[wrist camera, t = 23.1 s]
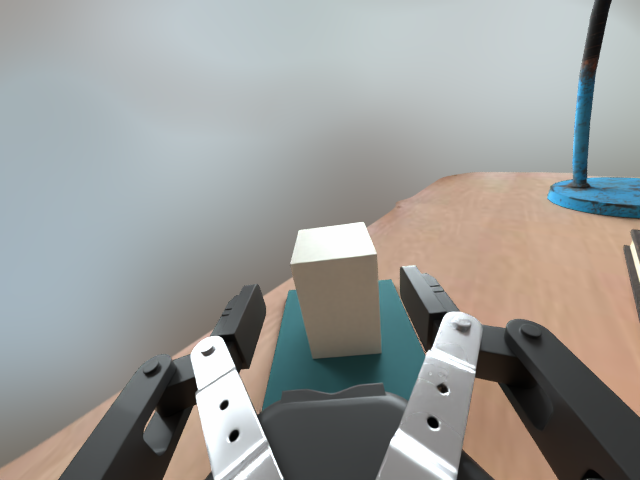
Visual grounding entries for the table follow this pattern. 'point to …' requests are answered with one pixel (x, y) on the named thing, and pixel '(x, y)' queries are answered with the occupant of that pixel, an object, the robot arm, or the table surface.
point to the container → (338, 290)
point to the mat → (347, 371)
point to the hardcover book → (634, 265)
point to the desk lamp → (581, 191)
